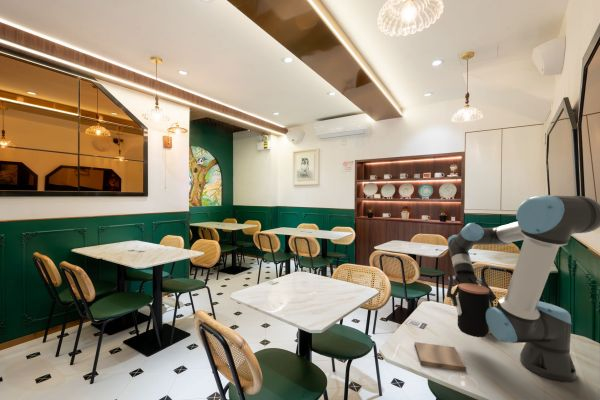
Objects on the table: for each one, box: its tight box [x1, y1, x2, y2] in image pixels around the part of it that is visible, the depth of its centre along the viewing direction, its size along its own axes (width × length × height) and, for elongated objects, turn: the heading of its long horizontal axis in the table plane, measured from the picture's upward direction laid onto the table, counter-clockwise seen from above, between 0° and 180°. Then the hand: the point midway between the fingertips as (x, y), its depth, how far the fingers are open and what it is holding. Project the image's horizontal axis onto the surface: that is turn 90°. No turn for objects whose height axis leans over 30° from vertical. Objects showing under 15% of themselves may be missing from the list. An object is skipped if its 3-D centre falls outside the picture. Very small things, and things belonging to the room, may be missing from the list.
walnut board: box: [414, 341, 467, 372], centre depth 105 cm, size 15×13×2 cm
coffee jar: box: [457, 283, 489, 338], centre depth 111 cm, size 11×11×18 cm
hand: (475, 315), depth 108 cm, fingers closed on coffee jar, 11 cm apart
